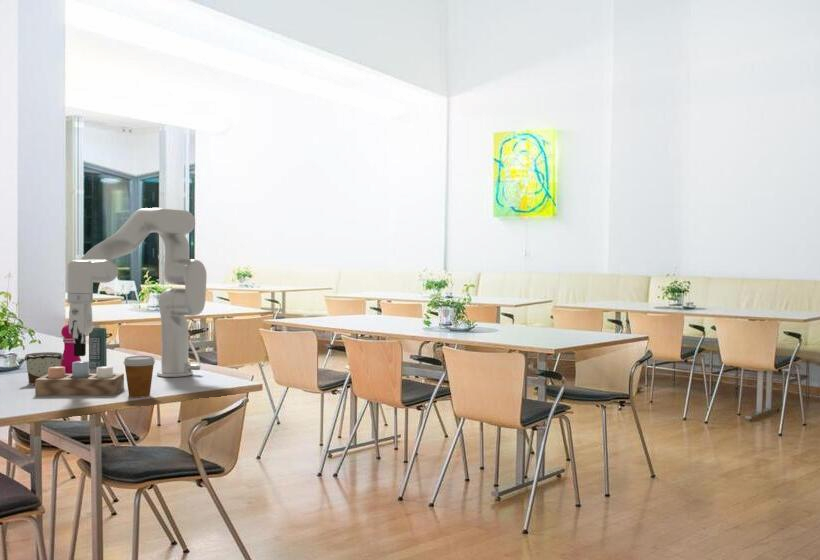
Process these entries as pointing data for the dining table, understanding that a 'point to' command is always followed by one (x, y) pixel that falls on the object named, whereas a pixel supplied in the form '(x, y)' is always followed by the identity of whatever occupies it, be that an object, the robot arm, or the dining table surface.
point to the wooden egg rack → (79, 385)
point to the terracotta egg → (56, 372)
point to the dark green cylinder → (97, 348)
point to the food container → (41, 364)
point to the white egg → (104, 372)
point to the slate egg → (80, 369)
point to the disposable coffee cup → (139, 375)
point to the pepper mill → (68, 350)
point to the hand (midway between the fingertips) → (79, 355)
